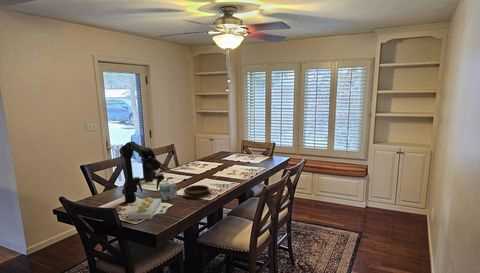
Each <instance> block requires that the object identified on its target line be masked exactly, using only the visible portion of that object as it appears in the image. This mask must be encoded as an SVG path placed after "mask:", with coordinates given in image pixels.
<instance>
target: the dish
mask: <svg viewBox="0 0 480 273" xmlns="http://www.w3.org/2000/svg"><path fill="white" fill-rule="evenodd" d="M209 190H210V187H209V186H208V185H203V184H202V185H200V184H198V185H197V184H196V185H190V186H187V187H185V188H184V190H183V192H184V194H185V195H186V196H187V198H191V199H192V198H193V199H197V198H203V197H204V196H211V193H212V192H211V191H209Z"/></svg>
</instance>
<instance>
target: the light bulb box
mask: <svg viewBox="0 0 480 273" xmlns="http://www.w3.org/2000/svg"><path fill="white" fill-rule="evenodd" d="M177 187H178V186H177V182H175V181H174V180H170V181H166V182H162V183H161V182H160V183H159V196H160V198H161V200H163V201H167V200H171V199H175V198H177V197H178V192H177V191H178V188H177ZM160 198H159V199H160Z"/></svg>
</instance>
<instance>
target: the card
mask: <svg viewBox="0 0 480 273" xmlns="http://www.w3.org/2000/svg"><path fill="white" fill-rule="evenodd" d="M168 208H169V205H160V206H159V208H158V209H157V211H156V215H158V214H160V215H161V214H162V215H163V214H165V213H166V212H167V210H168Z"/></svg>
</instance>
